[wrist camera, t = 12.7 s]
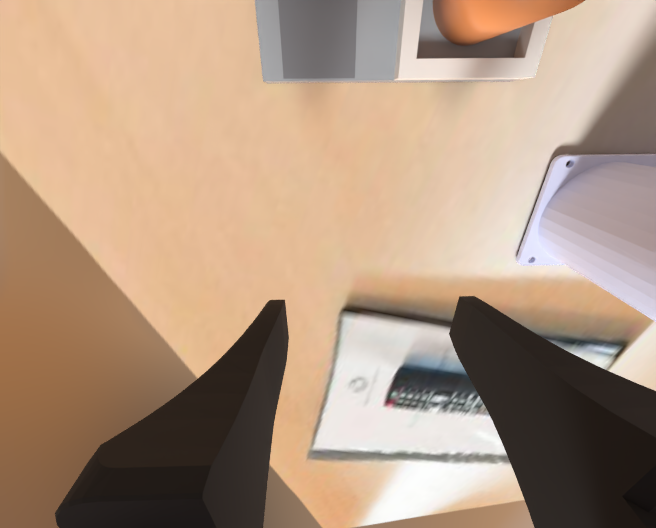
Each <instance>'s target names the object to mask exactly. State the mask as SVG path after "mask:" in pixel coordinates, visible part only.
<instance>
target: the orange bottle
mask: <svg viewBox="0 0 656 528" xmlns="http://www.w3.org/2000/svg"><path fill="white" fill-rule="evenodd" d="M583 1H585V0H433V14H434V19H435V22H436V25H437V27H438V29H439V31H440V33H441V34H442V35H443V36H444V37H445V38H446V39H447V40H448V41H450V42H451V43H454V44H456V45H460V46H468V45H473V44H477V43H479V42H482V41H485V40H488V39H490V38H493V37H496V36H498V35H501V34H504V33H507V32H509V31H512V30H515V29H517V28H520V27H523V26H526V25H528V24H531V23H534V22H537V21H539V20H542V19H545V18H547V17H550V16H553V15H556V14H558V13H561V12H564V11H566V10H568V9H571V8H573V7H575V6H577V5H578V4H580V3H582V2H583Z"/></svg>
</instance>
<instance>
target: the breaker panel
mask: <svg viewBox="0 0 656 528" xmlns="http://www.w3.org/2000/svg"><path fill="white" fill-rule="evenodd" d="M255 6H256V16H257V26H258V36H259V45H260V55H261V65H262V75H263V81H264V82H266V83H365V82H505V81H515V80H522V79H528V78H534V77H535V76H536V73H537V69H538V66H539V62H540V59H541V56H542V52H543V49H544V46H545V42H546V39H547V35H548V32H549V29H550V25H551V22H552V19H553V16H550V17H547V18H545V19H542V20H539V21H537V22H534V23H531V24H528V25H526V26H523V27H520V28H517V29H515V30H512V31H509V32H507V33H504V34H501V35H498V36H496V37H493V38H490V39H488V40H485V41H482V42H479V43H477V44H473V45H468V46H460V45H456V44H454V43H451V42H450V41H448V40H447V39H446V38H445V37H444V36H443V35H442V34H441V33H440V31H439V29H438V27H437V25H436V22H435V19H434V14H433V0H255Z"/></svg>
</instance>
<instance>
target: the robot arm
mask: <svg viewBox="0 0 656 528" xmlns="http://www.w3.org/2000/svg"><path fill="white" fill-rule="evenodd" d="M569 160H570V163H569V164H568V165H567V166H566V163H567V162H568V161H569ZM531 257H532V258H531ZM530 258H531V259H530ZM529 259H530V260H529ZM516 262H517V263H519V264H520V265H523V266H524V265H566V266H568V267H569V268H571V269H572V270H574V271H576V272H577V273H579V274H580V275H582V276H584V277H585V278H587V279H588V280H590V281H592V282H593V283H595V284H596V285H598V286H600V287H601V288H603V289H604V290H606V291H608V292H609V293H611V294H612V295H614V296H615V297H617V298H619V299H620V300H622V301H623V302H625V303H627V304H628V305H630V306H631V307H633V308H635V309H636V310H638V311H639V312H641V313H643V314H644V315H646V316H647V317H649V318H651V319H652V320H654V321H655V322H656V154H593V155H558V156H557V157H555V158H554V159H553V160H552V162H551V164H550V167H549V170H548V172H547V175H546V178H545V181H544V183H543V186H542V189H541V192H540V194H539V197H538V200H537V203H536V205H535V208H534V211H533V214H532V216H531V219H530V222H529V225H528V227H527V230H526V233H525V236H524V238H523V241H522V244H521V247H520V249H519V252H518V255H517V258H516ZM449 335H450V338H451V340H452V343H453V346H454V348H455V351H456V353H457V356H458V358H459V360H460V361H461V363H462V365H463V367H464V369H465V371H466V372H467V374H468V376H469V378H470V380H471V381H472V383H473V385H474V387H475V389H476V390H477V392H478V394H479V396H480V398H481V399H482V401H483V403H484V405H485V406H486V408H487V410H488V412H489V414H490V416H491V418H492V420H493V423H494V425H495V427H496V429H497V432H498V434H499V436H500V439H501V441H502V443H503V445H504V448H505V450H506V453H507V455H508V458H509V460H510V463H511V465H512V468H513V470H514V472H515V475H516V478H517V480H518V483H519V486H520V488H521V491H522V494H523V496H524V499H525V502H526V504H527V507H528V510H529V512H530V516H531V519H532V521H533V524H534V527H535V528H656V391H654V390H652V389H649V388H647V387H644V386H642V385H639V384H637V383H634V382H632V381H630V380H627V379H625V378H623V377H621V376H618V375H616V374H614V373H611V372H609V371H607V370H605V369H602V368H600V367H598V366H596V365H594V364H592V363H590V362H588V361H586V360H584V359H582V358H580V357H578V356H576V355H574V354H572V353H570V352H568V351H566V350H564V349H562V348H560V347H558V346H556V345H555V344H553V343H551V342H549V341H548V340H546V339H544V338H542V337H540V336H539V335H537V334H535V333H534V332H532V331H530V330H529V329H527V328H525V327H524V326H522V325H520V324H519V323H517V322H516V321H514V320H512V319H511V318H509V317H508V316H506V315H504V314H503V313H501V312H500V311H498V310H497V309H495V308H493V307H492V306H490V305H488V304H487V303H485V302H484V301H482V300H480V299H478V298H476V297H475V296H463V297H459V300H458V304H457V307H456V311H455V315H454V318H453V322H452V326H451V329H450V333H449ZM288 339H289V336H288V326H287V316H286V306H285V300H270V301H269V302H267V304H266V305H265V307H264V308H263V309H262V311H261V312H260V314H259V315H258V316H257V317H256V319H255V320H254V321H253V323H252V324H251V325H250V326H249V327H248V329H247V330H246V331H245V332H244V334H243V335H242V336H241V337H240V338H239V339H238V340H237V341H236V343H235V344H234V345H233V346H232V347H231V348H230V349H229V350H228V351H227V352H226V353H225V354H224V355H223V356H222V357H221V358H220V359H219V360H218V361H217V362H216V363H215V364H214V365H213V366H212V367H211V368H210V369H209V370H208V371H206V372H205V373H204V374H203V375H202V376H201V377H199V378H198V379H197V380H196V381H195V382H193V383H192V384H191V385H190V386H188V387H187V388H186V389H185V390H183V391H182V392H181V393H180V394H178V395H177V396H176V397H174V398H173V399H171V400H170V401H169V402H167V403H166V404H165V405H163V406H162V407H160V408H159V409H157V410H156V411H154V412H153V413H151V414H150V415H148V416H147V417H145V418H144V419H143V420H141V421H139V422H138V423H136V424H134V425H133V426H131V427H130V428H128V429H126V430H125V431H123V432H121V433H120V434H118V435H117V436H115V437H114V438H112V439H110V440H109V441H107V442H105V443H103V444H102V445H100V447H99V448H98V449H97V451H96V452H95V454H94V455H93V456H92V458H91V459H90V460H89V462H88V463H87V465H86V466H85V468H84V469H83V471H82V472H81V474H80V476H79V477H78V479H77V480H76V482H75V483H74V485H73V486H72V488H71V489H70V491H69V492H68V494H67V495H66V497H65V499H64V500H63V502H62V503H61V505H60V506H59V508H58V509H57V511H56V513H55V516H56V522H57V525H58V527H59V528H263V522H264V510H265V500H266V490H267V480H268V470H269V461H270V452H271V443H272V434H273V426H274V420H275V414H276V409H277V404H278V399H279V394H280V390H281V385H282V380H283V375H284V371H285V366H286V361H287V351H288Z"/></svg>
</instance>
